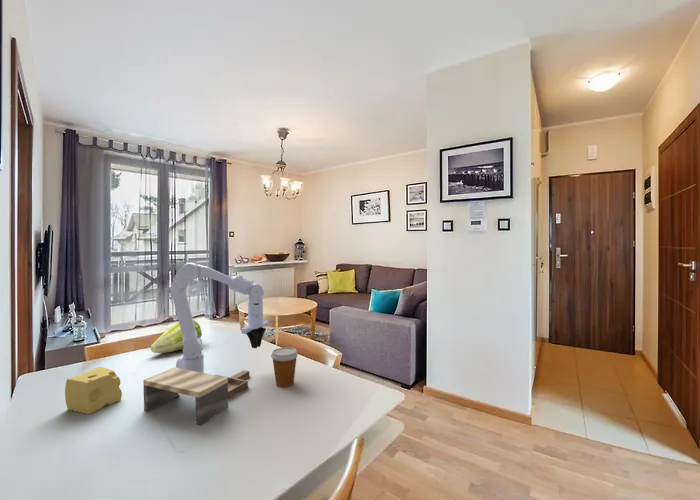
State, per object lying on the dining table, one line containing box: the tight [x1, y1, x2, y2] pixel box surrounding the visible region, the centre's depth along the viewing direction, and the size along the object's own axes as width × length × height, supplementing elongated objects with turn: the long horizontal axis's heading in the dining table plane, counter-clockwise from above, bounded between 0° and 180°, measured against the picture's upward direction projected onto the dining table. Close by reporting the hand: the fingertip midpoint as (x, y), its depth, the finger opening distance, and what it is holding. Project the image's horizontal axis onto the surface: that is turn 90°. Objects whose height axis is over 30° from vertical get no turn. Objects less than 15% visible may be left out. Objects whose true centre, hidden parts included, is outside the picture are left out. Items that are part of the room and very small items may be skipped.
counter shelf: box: [143, 367, 229, 427], centre depth 102 cm, size 23×11×10 cm, turn 67°
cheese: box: [64, 366, 123, 415], centre depth 105 cm, size 10×11×10 cm
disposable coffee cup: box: [270, 346, 298, 388], centre depth 120 cm, size 10×10×12 cm
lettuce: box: [150, 319, 203, 354], centre depth 159 cm, size 15×24×14 cm, turn 153°
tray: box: [216, 369, 250, 400], centre depth 119 cm, size 15×18×2 cm
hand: (256, 347), depth 133 cm, fingers closed
